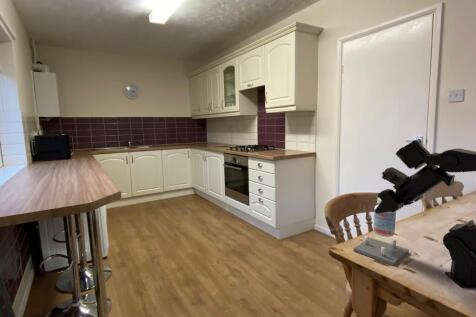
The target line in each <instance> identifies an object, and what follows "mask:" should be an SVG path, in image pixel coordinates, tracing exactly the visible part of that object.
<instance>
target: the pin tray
mask: <svg viewBox="0 0 476 317" xmlns="http://www.w3.org/2000/svg"><path fill="white" fill-rule="evenodd" d="M352 250H353V252H354V253H356V254H360V255H363V256H366V257H367V258H368V257H369V258H372V260H373V259H374V260H376V261H379V262H382V263H385V264H387V265H389V266H390V265H391V266H393V267H394V266H395V265H396V264H398V263H399V262H400V261H401V260H402V259H403V258H404V257H406V255H408V254H409V252H410V249H408V248H406V247H402V246H399V245H397V240H396V239H392V240H391V243H389V242H387V241H382V240H380V239H376V238H374V237H369V236H367V235H365V236H364V241H362V242H361V243H359V244H357V245H356V246H355V247H353V249H352Z"/></svg>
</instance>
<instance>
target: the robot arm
mask: <svg viewBox="0 0 476 317" xmlns="http://www.w3.org/2000/svg"><path fill="white" fill-rule="evenodd" d="M395 155H396V157H397V158H398V159H400V161H401V162H402V163H403V164H404V165H405V166H406V167H407V168H408V169H409V170H412V169H414V170H415V171H416V170H418V169H419V170H418V171H416V172H415V173H413V174H411V175H410V176H408V175H407V174H405V173H404V172H402V171H400V170H398V169H397V168H395V167H387V168H385V170H384V171H382V172H381V174H382V176H381V179H383V180H385V181H387V182H389V183H390V184H393V185H392V187H393V189H390V188H387V189H384V190H382V191H380V192H379V193H377V196H378V197H377V198H380V199H381V200H382V201H381V203H380V204H379V205H378V204H377V205H378V207H377V208H376V209H375V208H374V209H375V212H376V214H378V213H385V212H395V211H396V212H397V211H399V210H401V209H403V208H404V207H406V206H410V205H412V204H414V203H416V202H419V201H420V200H422V199H423V198H424V195H425V194H427V193H428V192H430V191H431V190H433V189H434V188H436V187H437V186H439V185H440V184H442V183H444V184H445V185H446V186H447V187H451V186H453V185H455V177H456V175H455V174H450V173H471V172H476V151H475V150H468V149H466V148H465V149H464V148H457V147H456V148H452V149H447V150H444V151H442V152H440V153H439V152H433V153H431V152H430V151H429V150H428V149H426V148H425V146H423V144H422V142H420V140H418V139H414V140H412V142H409V143H408V144H406V145H404V146H402V147H400V148H399V149H398V150H397V151H396V152H395ZM424 165H425V166H424ZM423 166H424V167H423ZM442 244H443V245H444V247H445V248H446V249H447V251H448V253H449V256H450V258H451V265H450V271H445V272H444V274H445V275H446V276H447V277H448V278H449V279H450V280H452V281H453V282H454V283H455V284H457V285H458V287H461V288H467V289H469V288H470V289H476V224H475V222H474V220H473V219H471V220H469V221H467V222H464V223H456V224H455V225H453V226H452V227H451V228H449V229H448V232H446V233H445V234H444V235H443V238H442Z"/></svg>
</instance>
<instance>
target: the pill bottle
mask: <svg viewBox="0 0 476 317" xmlns="http://www.w3.org/2000/svg"><path fill="white" fill-rule="evenodd" d="M376 201H377V202H376V203H377V204H376V205H375V206H374V209H373V225H372V226H373V228H372V229H373V230H372V232H374V234H375V235H377V236H380V237H387V238H389V237H394V235H395V230H396V219H397V218H396V216H397V211H395V212H385V213H378V214H376V212H375V209H376V208H377V207H378V205H379V204H380V203H381V201H382V200H381V199H380V198H379V197H377V200H376Z"/></svg>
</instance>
